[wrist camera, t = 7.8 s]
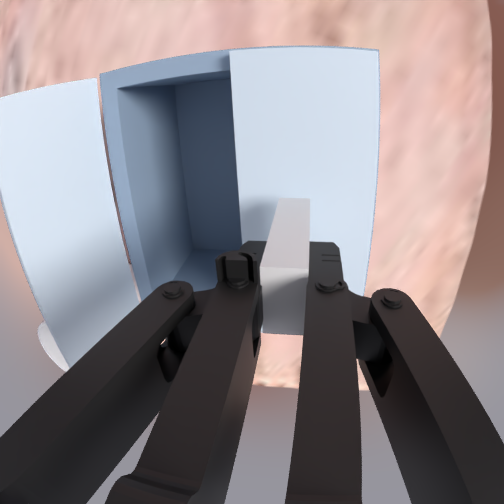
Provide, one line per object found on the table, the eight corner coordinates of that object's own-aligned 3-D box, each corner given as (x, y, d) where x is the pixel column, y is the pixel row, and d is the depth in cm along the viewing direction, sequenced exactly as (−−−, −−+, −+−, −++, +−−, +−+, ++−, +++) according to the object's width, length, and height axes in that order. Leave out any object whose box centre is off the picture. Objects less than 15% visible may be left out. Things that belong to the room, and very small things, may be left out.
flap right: (250, 326, 23) (248, 331, 22) (231, 52, 14) (229, 50, 14) (355, 329, 21) (355, 335, 21) (375, 52, 13) (378, 51, 13)
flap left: (143, 315, 24) (138, 312, 24) (96, 77, 16) (91, 79, 16) (73, 371, 18) (69, 367, 19) (-14, 101, 10) (-17, 104, 10)
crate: (186, 255, 33) (145, 316, 24) (164, 74, 24) (99, 74, 16) (346, 260, 30) (357, 331, 22) (353, 64, 22) (378, 49, 13)
